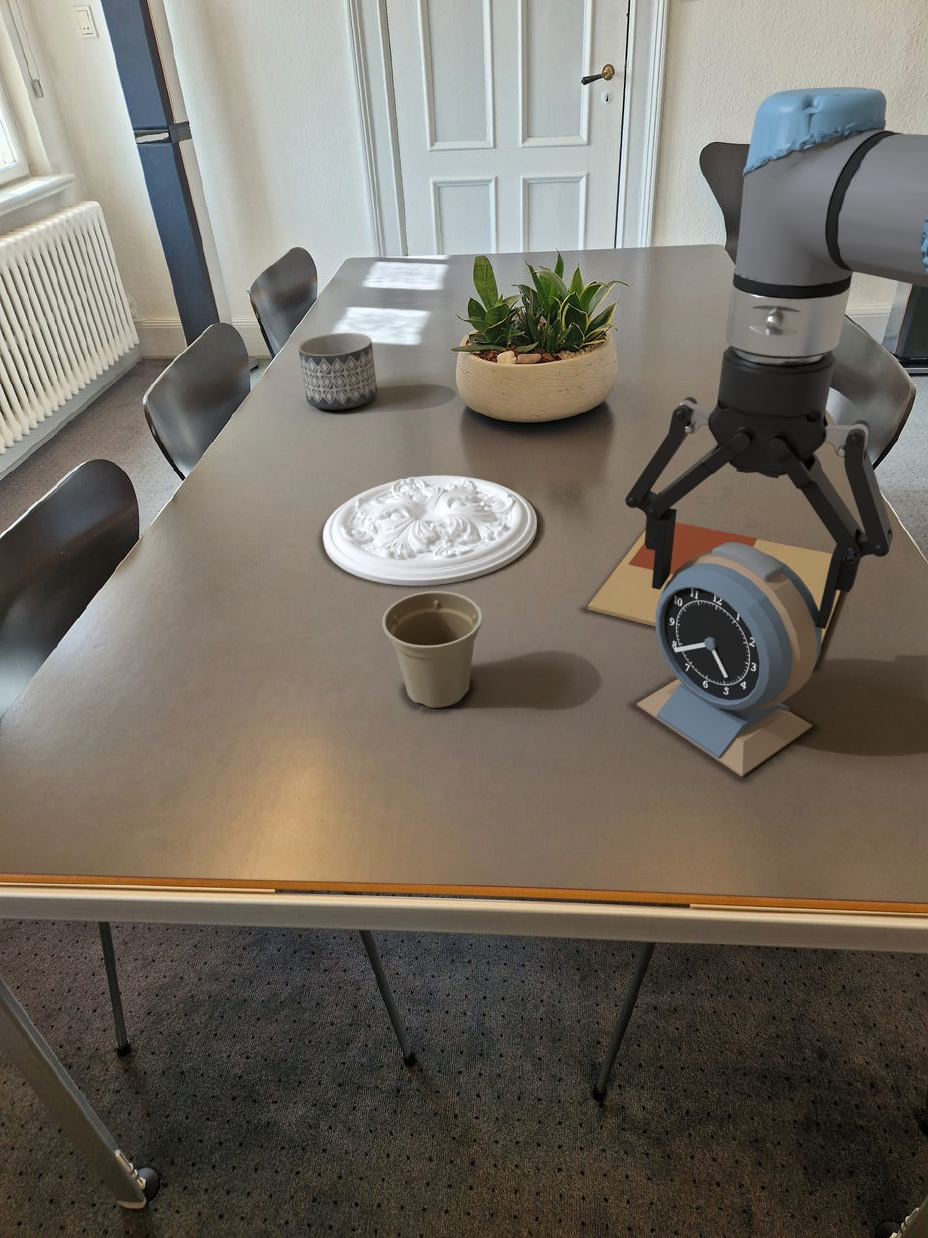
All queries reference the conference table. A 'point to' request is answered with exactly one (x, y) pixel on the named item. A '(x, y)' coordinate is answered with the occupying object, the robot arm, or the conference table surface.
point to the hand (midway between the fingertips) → (738, 599)
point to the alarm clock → (735, 653)
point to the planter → (338, 370)
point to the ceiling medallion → (430, 530)
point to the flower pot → (434, 644)
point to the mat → (633, 576)
